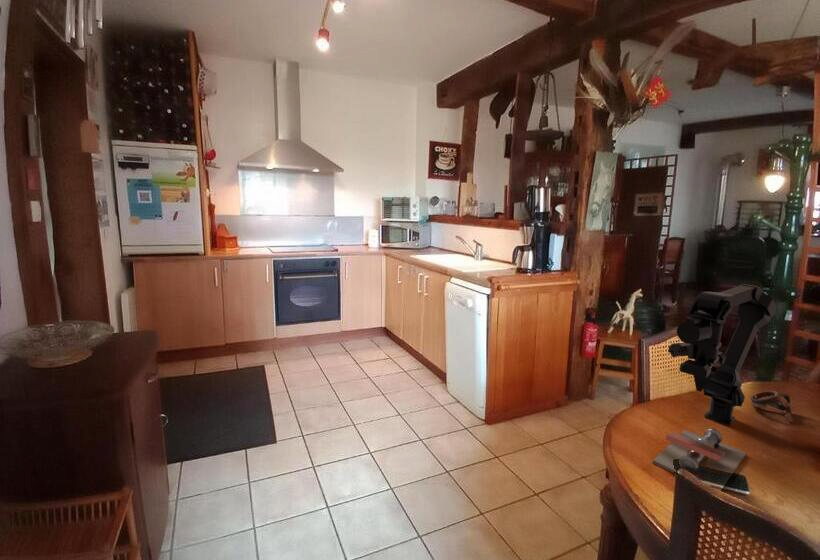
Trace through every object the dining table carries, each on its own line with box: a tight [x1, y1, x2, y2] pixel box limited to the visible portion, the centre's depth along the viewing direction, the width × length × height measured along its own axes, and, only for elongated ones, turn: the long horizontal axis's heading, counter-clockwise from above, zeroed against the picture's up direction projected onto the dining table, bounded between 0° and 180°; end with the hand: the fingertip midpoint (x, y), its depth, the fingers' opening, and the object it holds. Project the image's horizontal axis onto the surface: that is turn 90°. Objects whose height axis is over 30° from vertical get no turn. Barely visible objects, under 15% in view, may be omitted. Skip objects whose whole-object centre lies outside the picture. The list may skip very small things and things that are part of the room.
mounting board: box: [652, 429, 747, 491], centre depth 106 cm, size 23×14×1 cm, turn 130°
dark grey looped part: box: [750, 390, 794, 423], centre depth 130 cm, size 12×10×8 cm
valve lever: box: [665, 431, 726, 461], centre depth 102 cm, size 1×11×9 cm
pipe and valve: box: [679, 428, 723, 473], centre depth 105 cm, size 20×4×4 cm, turn 130°
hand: (698, 390), depth 117 cm, fingers closed
